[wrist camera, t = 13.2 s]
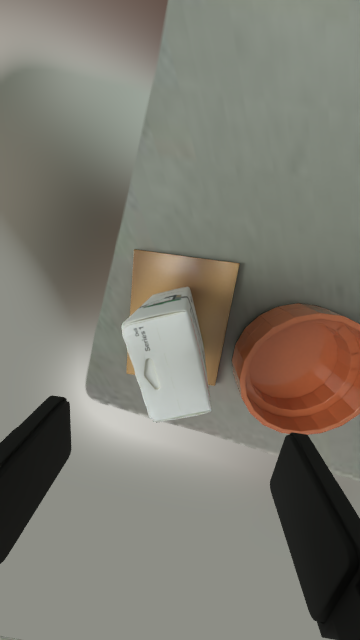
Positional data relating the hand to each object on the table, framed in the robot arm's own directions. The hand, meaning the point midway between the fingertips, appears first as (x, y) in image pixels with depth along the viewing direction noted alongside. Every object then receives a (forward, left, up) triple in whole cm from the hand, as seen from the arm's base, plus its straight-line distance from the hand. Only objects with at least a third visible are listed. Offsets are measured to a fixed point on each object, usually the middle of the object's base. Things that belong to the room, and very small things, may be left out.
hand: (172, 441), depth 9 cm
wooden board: (+1, +1, -19) cm, 19 cm away
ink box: (+1, +1, -18) cm, 18 cm away
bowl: (-14, +4, -19) cm, 24 cm away
